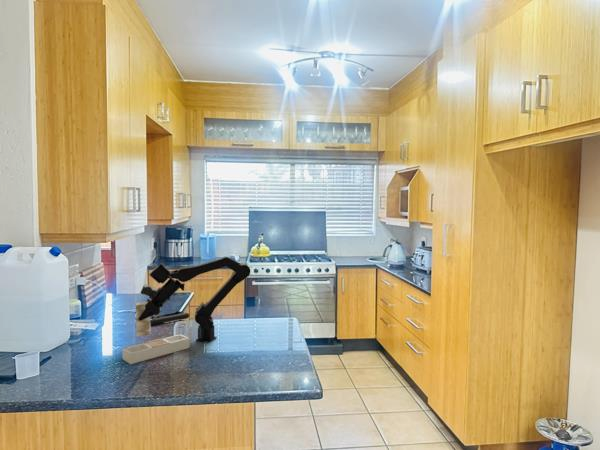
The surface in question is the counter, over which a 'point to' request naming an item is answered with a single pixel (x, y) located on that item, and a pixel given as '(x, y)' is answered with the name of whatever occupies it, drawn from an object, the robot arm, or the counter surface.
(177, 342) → the rack
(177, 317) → the door handle
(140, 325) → the tan carved block
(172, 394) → the counter surface
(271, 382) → the counter surface
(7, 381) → the counter surface
